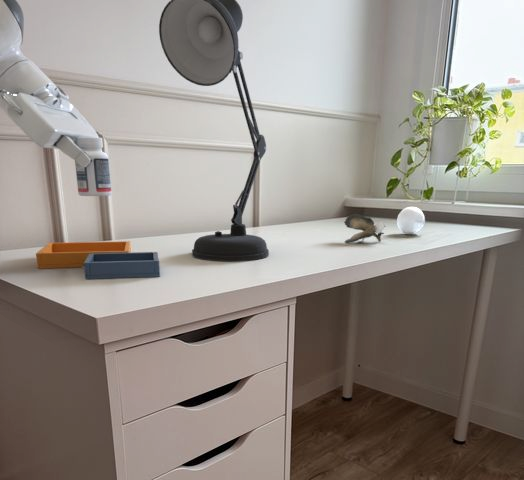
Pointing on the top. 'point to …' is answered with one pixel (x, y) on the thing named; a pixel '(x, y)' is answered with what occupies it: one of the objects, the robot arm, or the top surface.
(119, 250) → the amber tray
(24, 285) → the top surface
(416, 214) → the white egg
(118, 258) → the slate tray
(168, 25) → the desk lamp
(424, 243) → the top surface
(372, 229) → the eagle figurine
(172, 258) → the top surface
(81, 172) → the pill bottle
